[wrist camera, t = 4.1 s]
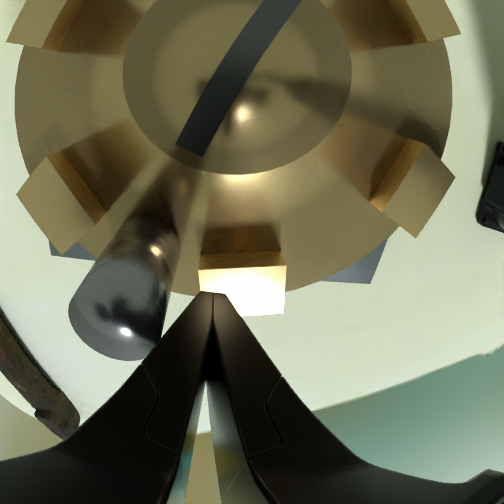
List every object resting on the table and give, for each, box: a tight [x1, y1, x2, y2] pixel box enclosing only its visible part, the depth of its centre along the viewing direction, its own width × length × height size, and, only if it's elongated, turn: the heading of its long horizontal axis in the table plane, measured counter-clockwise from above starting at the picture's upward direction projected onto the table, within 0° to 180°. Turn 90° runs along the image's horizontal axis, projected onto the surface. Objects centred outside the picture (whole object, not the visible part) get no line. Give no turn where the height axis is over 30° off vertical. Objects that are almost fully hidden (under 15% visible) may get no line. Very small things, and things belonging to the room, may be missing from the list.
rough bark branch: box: [0, 317, 80, 440], centre depth 18 cm, size 19×4×5 cm, turn 6°
